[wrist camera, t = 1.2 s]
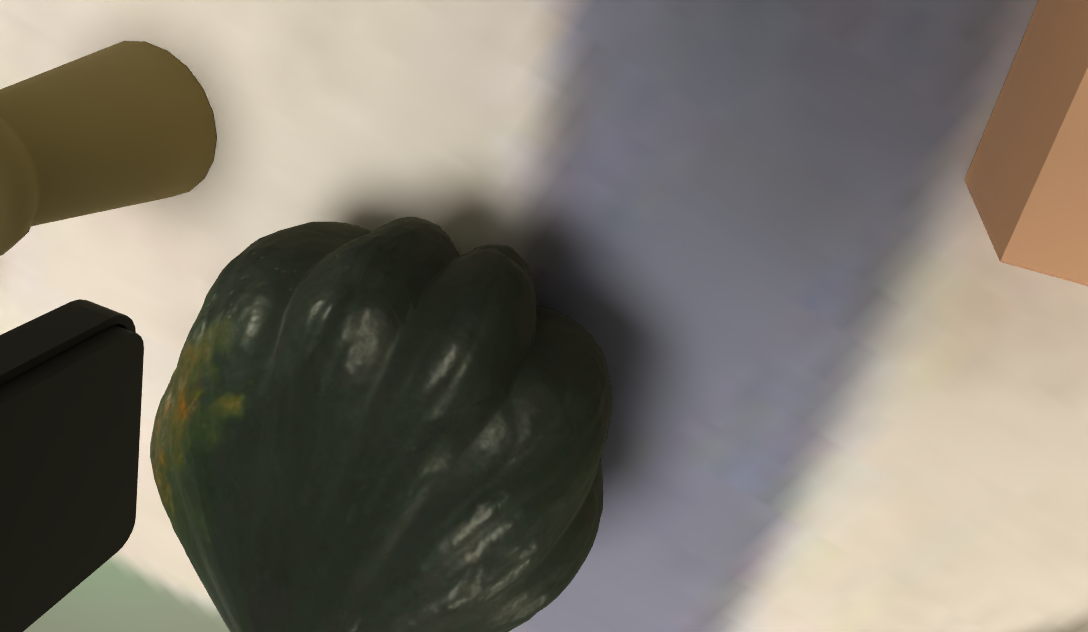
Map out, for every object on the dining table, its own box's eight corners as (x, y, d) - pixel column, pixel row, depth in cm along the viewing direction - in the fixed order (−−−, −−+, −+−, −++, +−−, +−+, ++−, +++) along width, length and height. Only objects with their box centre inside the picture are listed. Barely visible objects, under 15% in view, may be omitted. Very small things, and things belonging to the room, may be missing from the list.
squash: (336, 53, 27) (-51, 493, 22) (761, 347, 27) (478, 848, 22) (336, 229, 40) (96, 527, 35) (621, 425, 41) (424, 748, 35)
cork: (244, 127, 35) (14, 208, 25) (166, 226, 38) (-68, 334, 28) (128, 5, 34) (-153, 40, 25) (57, 115, 37) (-219, 186, 28)
